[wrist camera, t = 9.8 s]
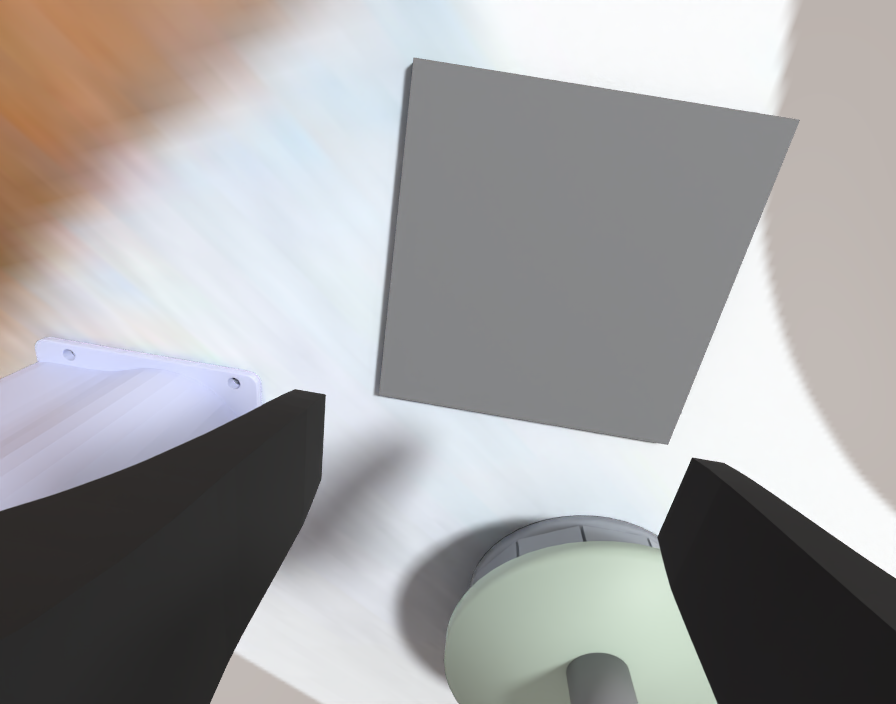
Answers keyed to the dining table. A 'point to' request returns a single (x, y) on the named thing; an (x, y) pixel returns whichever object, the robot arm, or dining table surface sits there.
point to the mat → (567, 246)
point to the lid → (574, 632)
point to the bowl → (561, 538)
